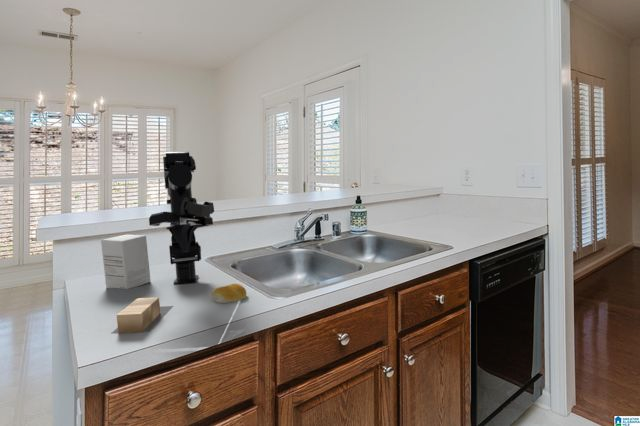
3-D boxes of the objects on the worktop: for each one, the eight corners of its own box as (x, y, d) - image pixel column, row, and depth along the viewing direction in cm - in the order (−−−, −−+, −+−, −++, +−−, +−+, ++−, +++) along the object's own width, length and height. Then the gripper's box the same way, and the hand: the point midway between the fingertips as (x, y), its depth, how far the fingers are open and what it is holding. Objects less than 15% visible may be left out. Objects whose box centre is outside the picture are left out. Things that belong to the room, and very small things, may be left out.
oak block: (137, 298, 87) (116, 314, 77) (159, 297, 88) (140, 313, 78) (139, 314, 88) (118, 332, 78) (160, 313, 88) (142, 331, 78)
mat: (141, 309, 92) (140, 307, 92) (173, 307, 93) (173, 305, 93) (111, 335, 78) (111, 333, 78) (149, 333, 78) (149, 331, 78)
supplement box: (130, 279, 119) (125, 233, 117) (151, 281, 115) (147, 235, 114) (104, 288, 110) (99, 239, 108) (127, 291, 107) (122, 240, 105)
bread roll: (252, 296, 100) (251, 282, 99) (226, 307, 93) (225, 292, 92) (231, 291, 105) (231, 278, 104) (205, 301, 97) (204, 286, 97)
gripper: (179, 185, 90) (185, 248, 88) (225, 194, 108) (230, 247, 106) (145, 193, 94) (149, 254, 92) (195, 201, 112) (199, 252, 110)
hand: (185, 251), depth 100 cm, fingers closed
